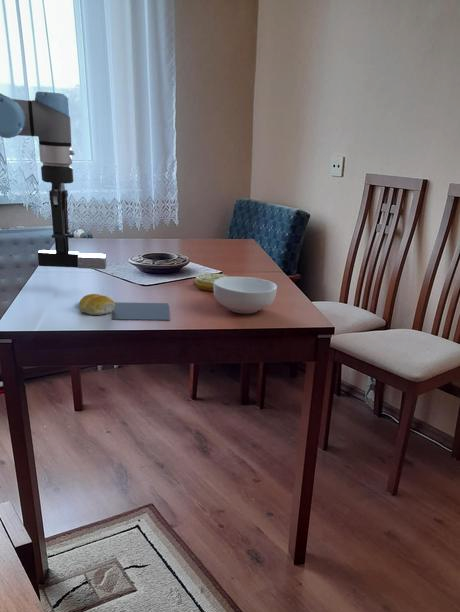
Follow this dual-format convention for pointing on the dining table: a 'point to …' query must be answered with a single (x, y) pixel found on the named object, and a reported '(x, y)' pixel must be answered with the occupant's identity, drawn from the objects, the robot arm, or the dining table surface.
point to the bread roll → (96, 304)
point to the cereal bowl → (244, 293)
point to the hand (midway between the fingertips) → (63, 261)
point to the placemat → (141, 311)
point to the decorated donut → (207, 280)
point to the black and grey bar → (73, 260)
